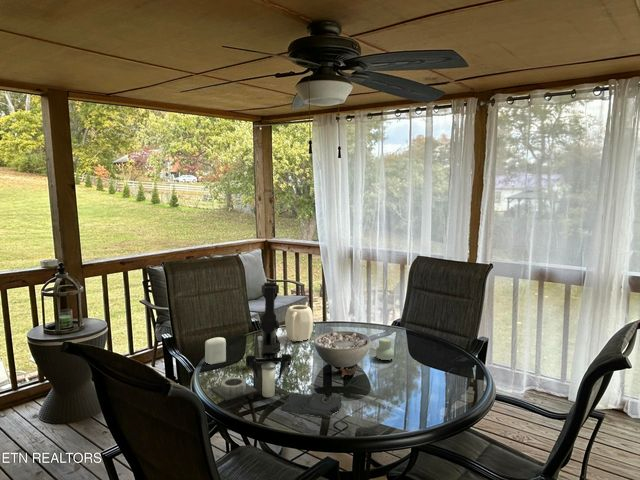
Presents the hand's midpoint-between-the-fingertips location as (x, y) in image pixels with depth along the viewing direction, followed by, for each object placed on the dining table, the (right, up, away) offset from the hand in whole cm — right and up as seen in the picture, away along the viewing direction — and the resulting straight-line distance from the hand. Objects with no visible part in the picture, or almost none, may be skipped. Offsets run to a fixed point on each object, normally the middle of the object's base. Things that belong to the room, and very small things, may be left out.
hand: (268, 380), depth 179 cm
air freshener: (+53, -3, +44) cm, 69 cm away
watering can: (+9, 0, +76) cm, 76 cm away
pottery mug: (+32, -5, +25) cm, 41 cm away
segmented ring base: (-15, -6, +6) cm, 17 cm away
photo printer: (-30, -3, +37) cm, 48 cm away
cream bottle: (0, -7, +2) cm, 7 cm away
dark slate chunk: (+18, -8, -8) cm, 21 cm away
